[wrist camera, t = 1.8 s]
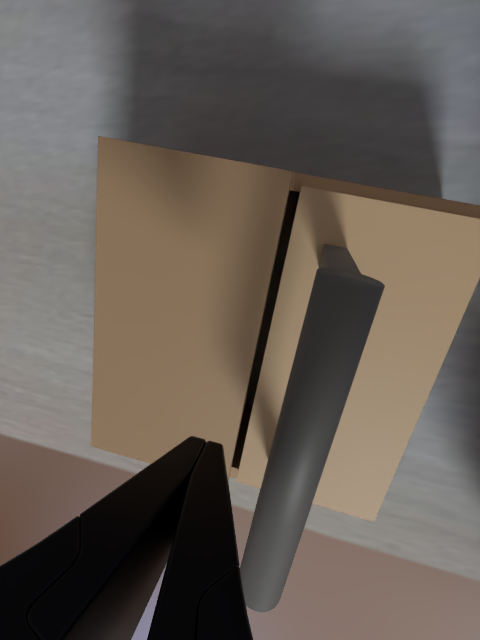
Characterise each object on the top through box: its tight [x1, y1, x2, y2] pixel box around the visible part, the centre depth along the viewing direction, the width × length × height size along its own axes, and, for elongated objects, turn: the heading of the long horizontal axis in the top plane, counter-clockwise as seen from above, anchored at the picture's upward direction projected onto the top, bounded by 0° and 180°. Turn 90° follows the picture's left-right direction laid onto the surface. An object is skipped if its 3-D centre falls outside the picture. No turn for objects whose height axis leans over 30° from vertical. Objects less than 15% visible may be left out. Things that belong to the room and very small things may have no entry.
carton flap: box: [236, 186, 480, 612], centre depth 11 cm, size 6×13×7 cm, turn 170°
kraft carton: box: [91, 136, 480, 480], centre depth 17 cm, size 14×14×7 cm
